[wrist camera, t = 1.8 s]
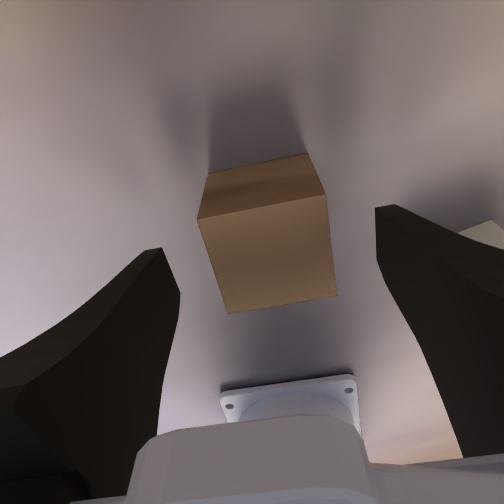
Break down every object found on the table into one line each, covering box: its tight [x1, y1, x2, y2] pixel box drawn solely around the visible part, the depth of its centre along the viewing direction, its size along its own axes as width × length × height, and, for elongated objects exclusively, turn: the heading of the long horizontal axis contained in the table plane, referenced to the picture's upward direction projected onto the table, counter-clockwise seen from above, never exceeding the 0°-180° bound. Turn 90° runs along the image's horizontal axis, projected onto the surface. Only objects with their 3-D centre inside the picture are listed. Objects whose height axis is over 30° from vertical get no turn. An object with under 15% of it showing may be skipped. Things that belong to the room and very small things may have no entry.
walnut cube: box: [197, 153, 337, 314], centre depth 14 cm, size 4×4×4 cm
